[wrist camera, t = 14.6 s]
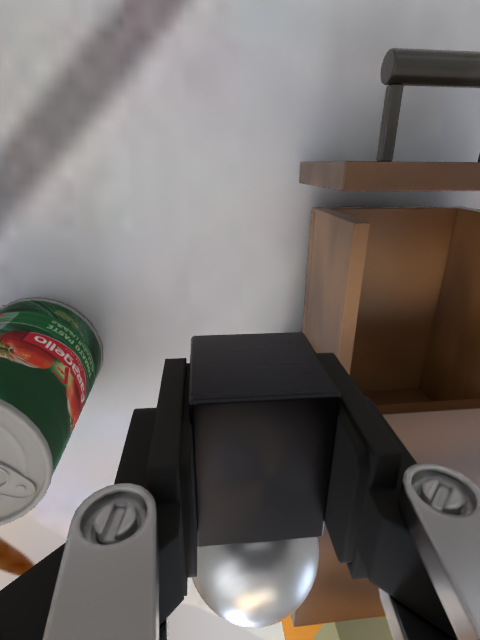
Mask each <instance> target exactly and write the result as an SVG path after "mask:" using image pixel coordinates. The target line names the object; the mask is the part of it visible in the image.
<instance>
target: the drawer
mask: <svg viewBox="0 0 480 640" xmlns="http://www.w3.org/2000/svg"><path fill="white" fill-rule="evenodd" d="M381 81H382V83H383V84H384V85H389V86H387V87H386V93H385V101H384V108H383V116H382V123H381V131H380V138H379V146H378V153H377V162H375V161H325V162H301V163H300V179H299V183H303V184H308V185H313V186H319V187H324V188H329V189H335V190H340V191H480V153H479V158H478V162H392V159H393V153H394V146H395V139H396V132H397V126H398V119H399V112H400V105H401V99H402V92H403V86H433V87H465V88H480V52H473V51H449V50H425V49H402V48H392V49H390V50H389V51H388V52H387V53H386V55H385V57H384V60H383V63H382V67H381ZM302 333H304V334H305V336H306V337H307V339H308V341H309V342H310V344H311V346H312V347H313V349H314V350H315V352H316V353H334V354H335V355H336V357H337V358H338V360H339V361H340V363H341V364H342V365H343V367H344V368H345V370H346V371H347V373H348V374H349V375H350V377H351V378H352V380H353V381H354V382H355V384H356V385H357V387H358V388H359V390H360V391H361V392H362V394H363V395H364V397H367V398H370V399H371V400H372V401H373V403H374V404H375V405H386V404H402V403H418V402H434V401H449V400H465V399H480V210H479V209H473V208H467V207H312V210H311V223H310V236H309V249H308V262H307V275H306V288H305V302H304V315H303V328H302Z"/></svg>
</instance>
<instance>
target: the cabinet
mask: <svg viewBox="0 0 480 640" xmlns="http://www.w3.org/2000/svg"><path fill="white" fill-rule="evenodd" d="M376 407H377V408H378V410H379V411H380V412H381V414H382V415H383V417H384V418H385V419H386V421H387V422H388V423H389V425H390V426H391V428H392V429H393V430H394V432H395V433H396V435H397V436H398V437H399V439H400V440H401V441H402V443H403V444H404V446H405V447H406V448H407V450H408V451H409V453H410V454H411V455H412V457H413V458H414V459H415V461H416V462H417V463H426V462H427V463H436V464H440V465H444V466H447V467H450V468H452V469H454V470H456V471H458V472H460V473H462V474H463V475H465V476H466V477H468V478H469V479H470V480H472V481H473V482H474V483H475V484H476V485H477V486H478V487H479V489H480V399H465V400H449V401H434V402H418V403H402V404H386V405H376ZM318 542H319V563H318V569H317V573H316V577H315V580H314V583H313V586H312V588H311V590H310V592H309V594H308V595H307V597H306V599H305V600H304V601H303V603H302V604H301V605H300V606H299V607H298V609H297V610H296V611H295V612H293V613H292V614H291V619H292V623H293V627H300V626H308V625H316V624H324V623H332V622H340V621H348V620H356V619H364V618H372V617H380V616H386V615H385V612H384V609H383V606H382V603H381V599H380V594H379V587H377V586H376V585H374V584H373V583H371V582H370V581H369V580H368V578H363V579H353V580H352V577H351V575H350V572H349V569H348V566H347V564H346V563H340V562H339V561H338V559H337V556H336V554H335V551H334V548H333V545H332V542H331V539H330V536H329V533H328V530H327V528H326V525H325V524H324V531H323V536H321V537H318Z"/></svg>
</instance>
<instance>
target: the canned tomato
mask: <svg viewBox="0 0 480 640" xmlns="http://www.w3.org/2000/svg"><path fill="white" fill-rule="evenodd" d="M102 360H103V349H102V345H101V341H100V338H99V336H98V334H97V332H96V330H95V329H94V327H93V326H92V325H91V323H90V322H89V321H88V320H87V319H86V318H85V317H84V316H83V315H82V314H80V313H79V312H77V311H76V310H74V309H73V308H71V307H70V306H67V305H65V304H63V303H60V302H57V301H53V300H49V299H42V298H29V299H21V300H18V301H15V302H11V303H9V304H7V305H5V306H4V307H2V308H0V525H3V524H6V523H10V522H12V521H14V520H16V519H18V518H20V517H22V516H24V515H25V514H27V513H28V512H29V511H31V510H32V509H33V508H34V507H35V506H36V505H37V504H38V503H39V502H40V501H41V499H42V498H43V497H44V495H45V493H46V491H47V489H48V487H49V485H50V483H51V478H52V475H53V472H54V471H55V469H56V467H57V465H58V463H59V461H60V459H61V456H62V453H63V451H64V449H65V447H66V444H67V442H68V440H69V438H70V436H71V433H72V431H73V429H74V427H75V424H76V422H77V420H78V418H79V415H80V413H81V411H82V408H83V406H84V404H85V402H86V400H87V397H88V395H89V393H90V391H91V389H92V386H93V384H94V382H95V379H96V378H97V376H98V373H99V371H100V369H101V365H102Z"/></svg>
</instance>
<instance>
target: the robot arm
mask: <svg viewBox="0 0 480 640" xmlns="http://www.w3.org/2000/svg"><path fill="white" fill-rule="evenodd" d="M316 354H317V355H318V357H319V359H320V360H321V362H322V364H323V365H324V367H325V368H326V370H327V372H328V373H329V375H330V377H331V378H332V380H333V382H334V383H335V385H336V386H337V388H338V390H339V391H340V393H341V402H340V410H339V415H338V421H337V429H336V436H335V444H334V452H333V459H332V467H331V475H330V482H329V490H328V498H327V505H326V513H325V521H324V522H325V525H326V528H327V530H328V533H329V536H330V539H331V542H332V545H333V548H334V551H335V554H336V556H337V559H338V561H339V562H340V563H346V564H347V566H348V569H349V572H350V575H351V577H352V580H353V579H363V578H368V580H369V581H370V582H371V583H373V584H374V585H376V586H377V587H379V594H380V599H381V603H382V606H383V609H384V612H385V615H386V618H387V621H388V624H389V628H390V631H391V634H392V637H393V640H480V489H479V487H478V486H477V485H476V484H475V483H474V482H473V481H472V480H470V479H469V478H468V477H466V476H465V475H463V474H462V473H460V472H458V471H456V470H454V469H452V468H450V467H447V466H444V465H440V464H436V463H427V462H426V463H417V462H416V461H415V459H414V458H413V457H412V455H411V454H410V453H409V451H408V450H407V448H406V447H405V446H404V444H403V443H402V441H401V440H400V439H399V437H398V436H397V435H396V433H395V432H394V430H393V429H392V428H391V426H390V425H389V423H388V422H387V421H386V419H385V418H384V417H383V415H382V414H381V412H380V411H379V410H378V408H377V407H376V405H375V404H374V403H373V401H372V400H371V399H370V398H367V397H364V395H363V394H362V392H361V391H360V390H359V388H358V387H357V385H356V384H355V382H354V381H353V380H352V378H351V377H350V375H349V374H348V373H347V371H346V370H345V368H344V367H343V365H342V364H341V363H340V361H339V360H338V358H337V357H336V355H335V354H334V353H316ZM189 375H190V363H186V358H180V359H165V364H164V370H163V375H162V381H161V387H160V393H159V398H158V404H157V408H143V409H135V410H134V412H133V415H132V419H131V422H130V426H129V430H128V434H127V437H126V441H125V445H124V449H123V453H122V456H121V460H120V464H119V468H118V471H117V475H116V479H115V483H114V485H111V486H107V487H105V488H103V489H100V490H98V491H96V492H94V493H93V494H92V495H90V496H89V497H88V498H87V499H85V500H84V501H83V502H82V504H81V505H80V506H79V507H78V509H77V510H76V511H75V514H74V516H73V518H72V521H71V524H70V528H69V532H68V536H67V540H66V543H64V544H63V545H62V546H60V547H59V548H58V549H56V550H55V551H54V552H52V553H51V554H49V555H48V556H47V557H45V558H44V559H43V560H41V561H40V562H39V563H37V564H36V565H35V566H33V567H32V568H30V569H29V570H28V571H26V572H25V573H24V574H22V575H21V576H20V577H18V578H17V579H16V580H15V581H13V582H12V583H10V584H9V585H7V586H6V587H5V588H3V589H2V590H1V591H0V640H168V616H169V615H170V614H171V613H172V612H173V611H174V609H175V608H176V607H177V606H178V605H179V604H180V603H181V602H182V601H183V600H184V596H187V578H188V577H197V514H196V494H195V474H194V453H193V433H192V424H190V422H189V409H188V397H189Z"/></svg>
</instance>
